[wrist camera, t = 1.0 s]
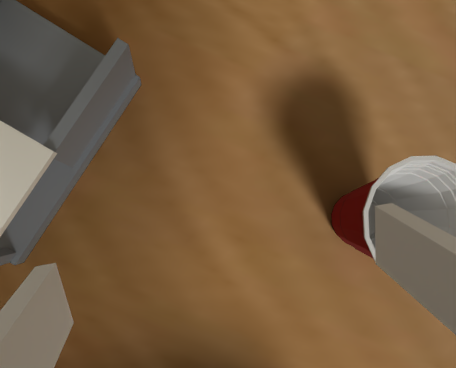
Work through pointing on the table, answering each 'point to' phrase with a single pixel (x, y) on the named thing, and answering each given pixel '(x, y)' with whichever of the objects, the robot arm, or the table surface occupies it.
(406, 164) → the plastic cup
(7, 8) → the sliding door cubby
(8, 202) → the cover
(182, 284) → the table surface
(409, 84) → the table surface
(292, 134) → the table surface
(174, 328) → the table surface
